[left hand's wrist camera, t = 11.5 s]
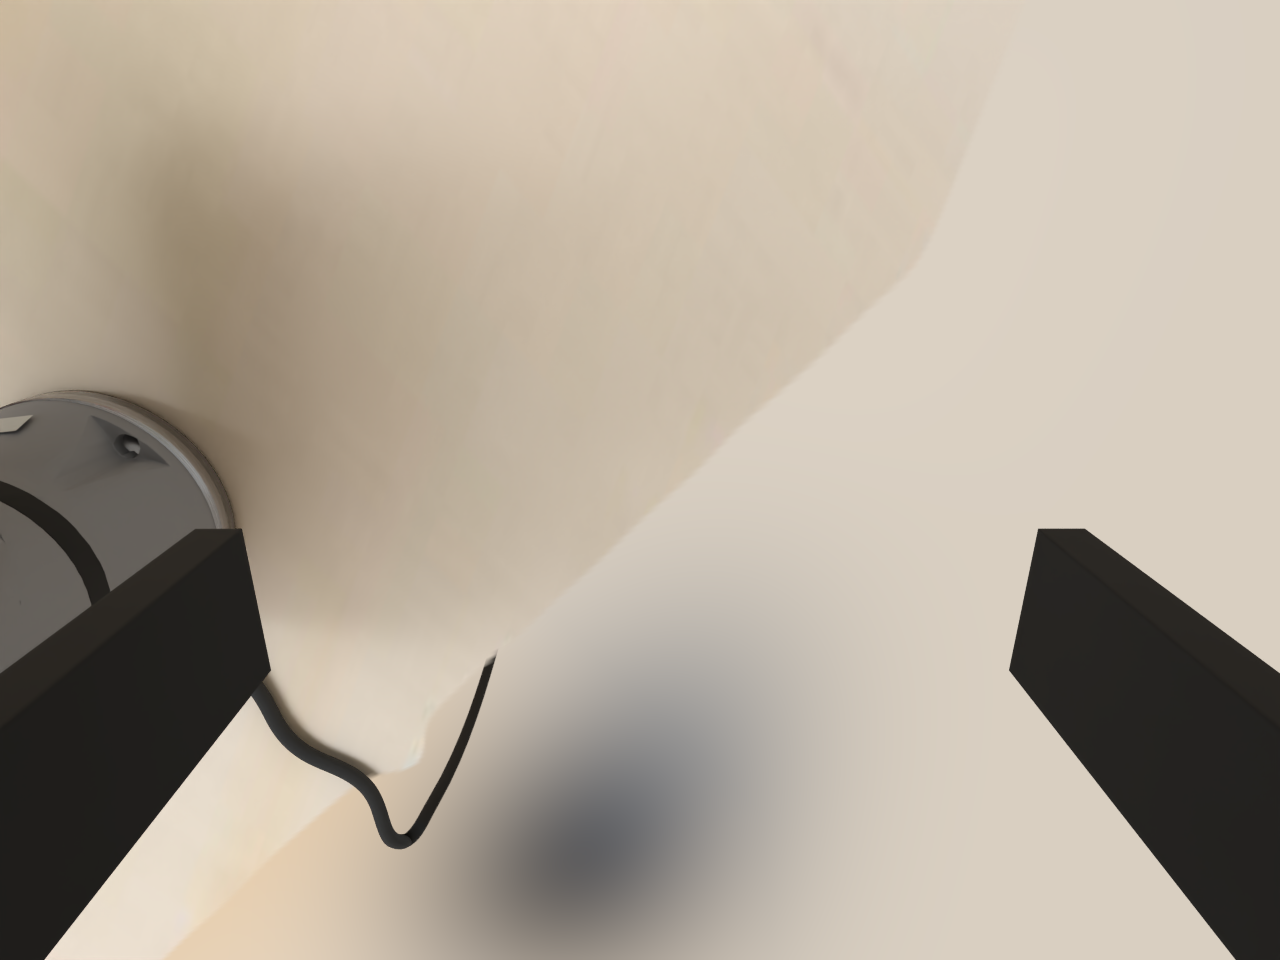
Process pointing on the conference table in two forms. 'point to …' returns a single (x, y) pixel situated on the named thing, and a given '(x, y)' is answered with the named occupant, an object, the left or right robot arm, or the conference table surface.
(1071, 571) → the left robot arm
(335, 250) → the conference table surface
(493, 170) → the conference table surface
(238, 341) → the conference table surface
